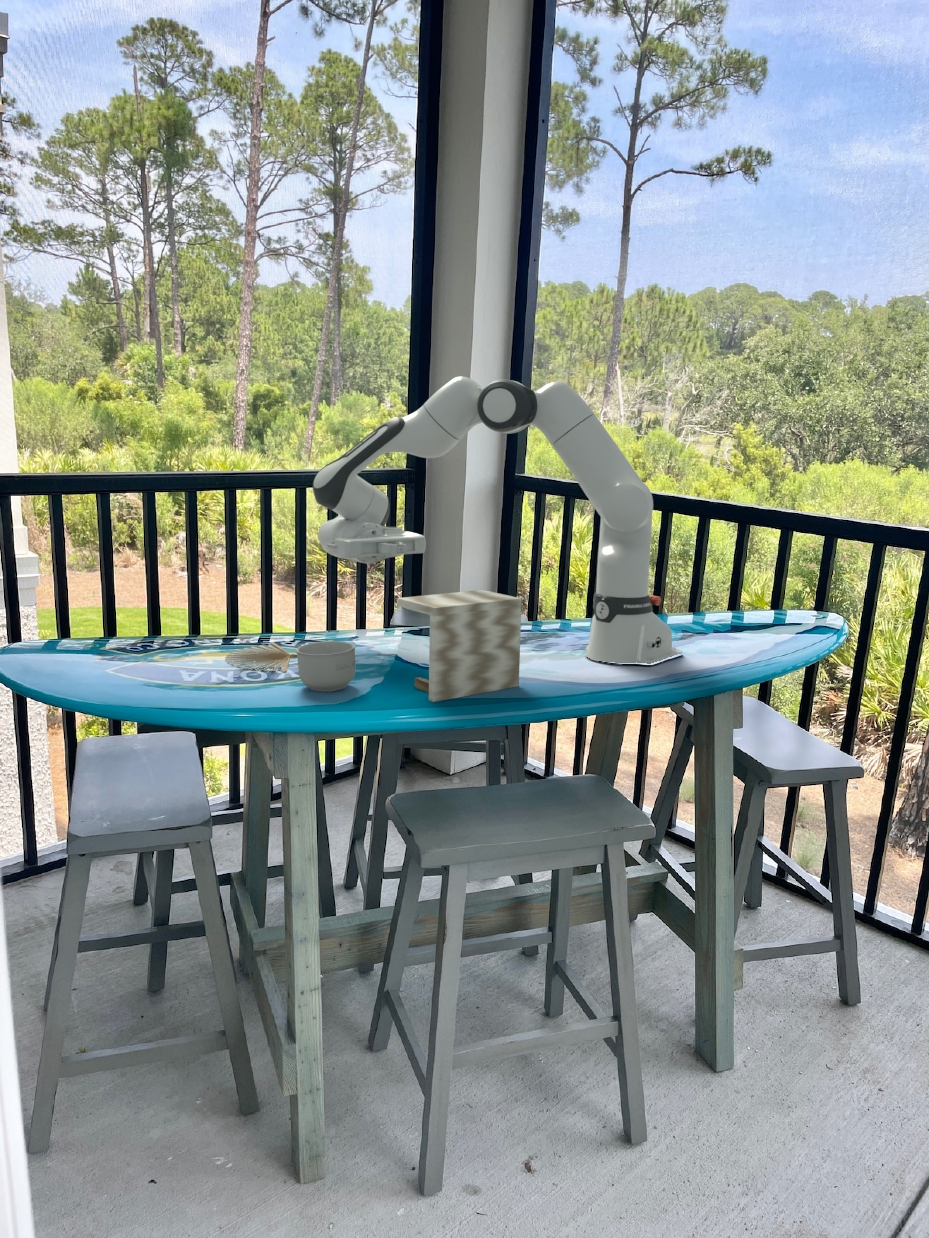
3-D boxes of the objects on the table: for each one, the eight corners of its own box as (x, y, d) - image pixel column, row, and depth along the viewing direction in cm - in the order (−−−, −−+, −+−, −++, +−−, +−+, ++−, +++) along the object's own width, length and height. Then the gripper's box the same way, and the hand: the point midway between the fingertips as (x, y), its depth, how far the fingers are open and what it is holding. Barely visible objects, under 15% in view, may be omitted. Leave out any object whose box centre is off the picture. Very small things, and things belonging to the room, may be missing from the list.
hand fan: (291, 644, 204) (223, 647, 199) (291, 641, 203) (223, 643, 199) (304, 673, 179) (227, 676, 175) (304, 669, 179) (227, 672, 174)
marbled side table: (479, 672, 180) (481, 589, 177) (518, 686, 171) (521, 598, 168) (396, 687, 168) (397, 598, 165) (433, 702, 159) (435, 607, 156)
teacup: (345, 697, 161) (345, 654, 160) (288, 693, 163) (287, 650, 161) (366, 678, 175) (366, 638, 173) (313, 675, 176) (312, 635, 175)
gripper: (323, 530, 188) (357, 536, 178) (404, 526, 201) (440, 532, 190) (323, 560, 190) (357, 567, 179) (404, 554, 202) (440, 561, 191)
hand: (401, 549), depth 184 cm, fingers closed
